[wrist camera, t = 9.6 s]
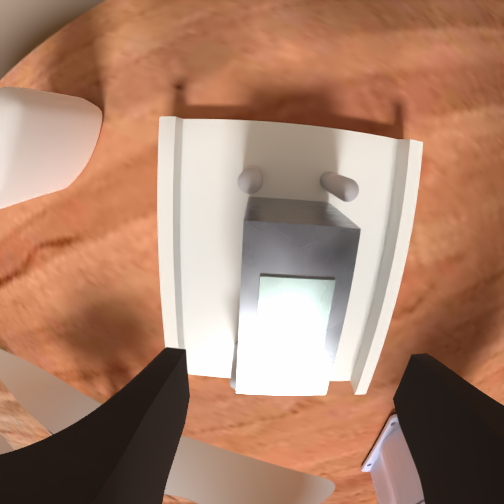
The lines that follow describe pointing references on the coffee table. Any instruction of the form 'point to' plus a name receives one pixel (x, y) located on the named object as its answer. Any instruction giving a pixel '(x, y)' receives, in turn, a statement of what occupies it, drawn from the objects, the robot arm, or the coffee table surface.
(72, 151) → the eye dropper bottle
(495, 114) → the coffee table surface
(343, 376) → the tray
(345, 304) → the grey rectangular block
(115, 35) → the coffee table surface
